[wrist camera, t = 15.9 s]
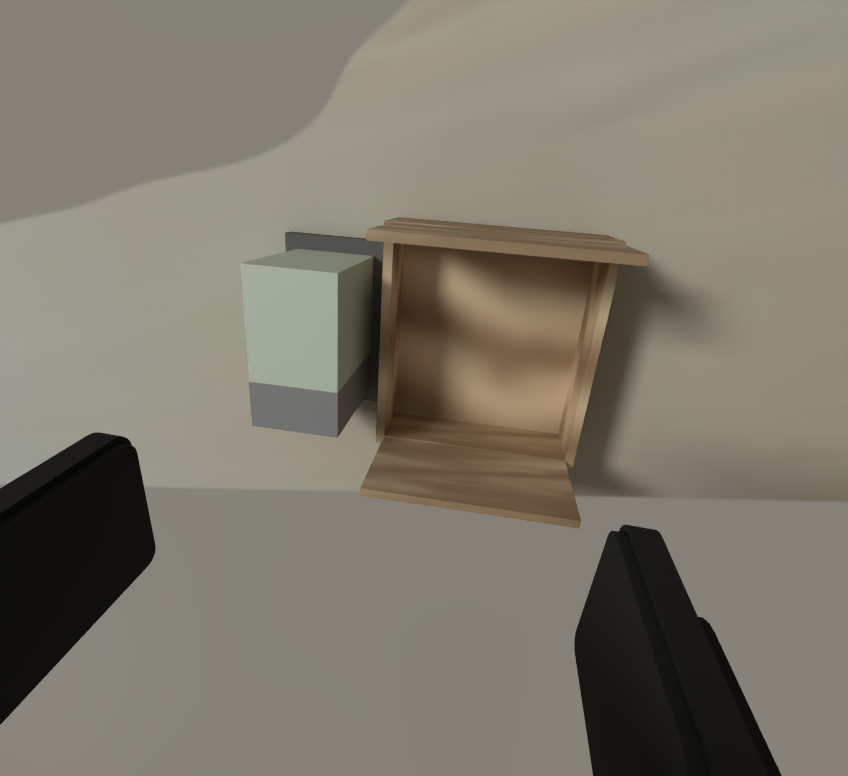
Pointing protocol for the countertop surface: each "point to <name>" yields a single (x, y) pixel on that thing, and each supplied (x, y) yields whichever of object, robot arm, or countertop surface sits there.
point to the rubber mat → (373, 249)
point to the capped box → (307, 338)
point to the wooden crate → (488, 363)
